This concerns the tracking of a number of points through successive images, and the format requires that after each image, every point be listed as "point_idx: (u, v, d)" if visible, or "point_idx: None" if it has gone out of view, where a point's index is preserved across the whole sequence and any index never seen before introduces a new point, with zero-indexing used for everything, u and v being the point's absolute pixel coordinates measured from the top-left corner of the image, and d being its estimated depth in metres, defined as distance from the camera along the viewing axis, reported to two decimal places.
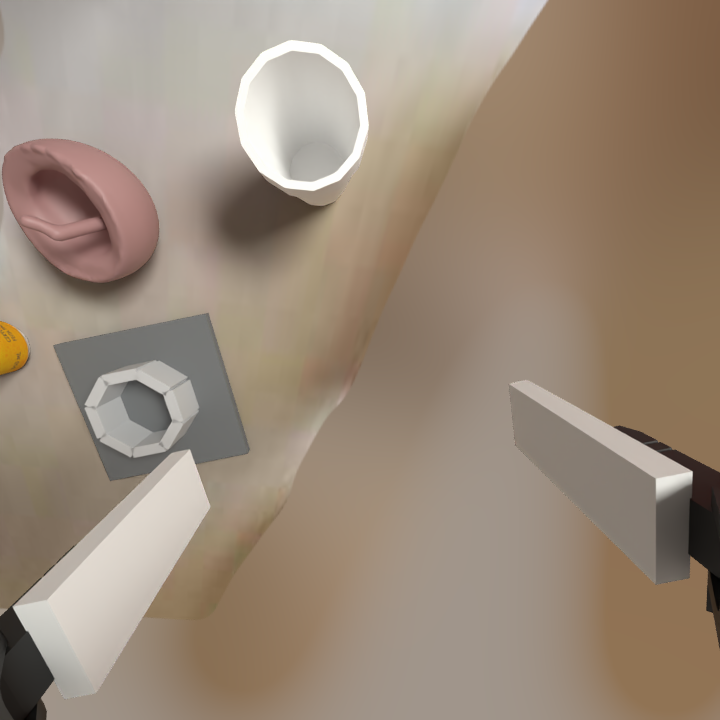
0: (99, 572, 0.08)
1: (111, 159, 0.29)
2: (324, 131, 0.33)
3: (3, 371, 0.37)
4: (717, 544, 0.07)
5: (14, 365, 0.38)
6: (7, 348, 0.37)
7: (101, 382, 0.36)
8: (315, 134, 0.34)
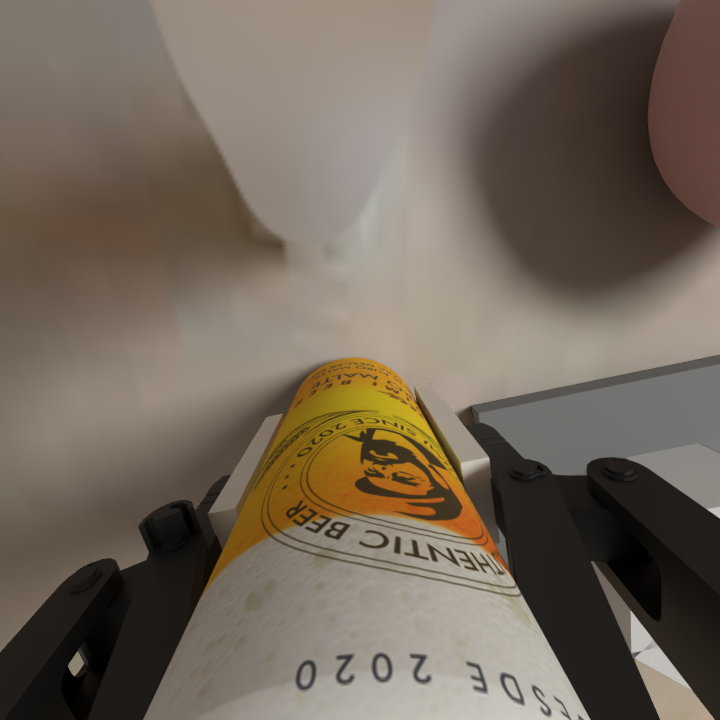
0: None
1: None
2: None
3: None
4: None
5: None
6: None
7: None
8: None
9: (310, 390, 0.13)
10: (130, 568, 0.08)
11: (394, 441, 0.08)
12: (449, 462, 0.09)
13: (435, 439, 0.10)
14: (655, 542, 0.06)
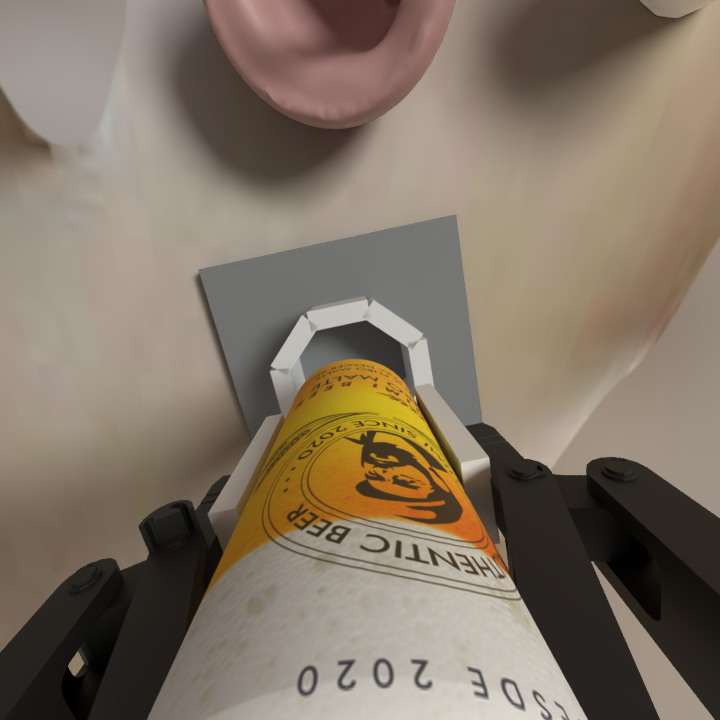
0: None
1: None
2: None
3: None
4: None
5: None
6: None
7: (305, 325, 0.20)
8: None
9: (310, 392, 0.13)
10: (130, 568, 0.08)
11: (394, 444, 0.08)
12: (449, 464, 0.09)
13: (435, 441, 0.10)
14: (655, 542, 0.06)
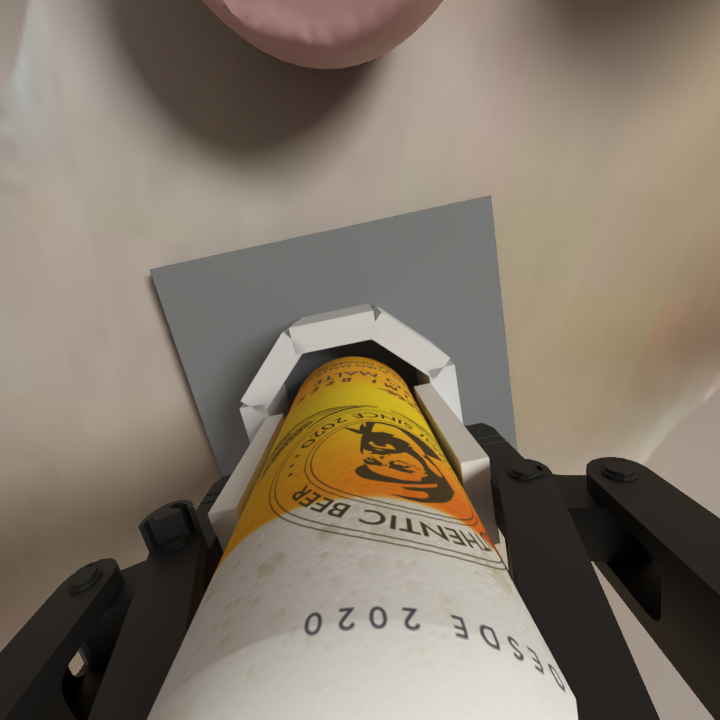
0: None
1: None
2: None
3: None
4: None
5: None
6: None
7: (287, 346, 0.15)
8: None
9: (312, 387, 0.13)
10: (130, 568, 0.08)
11: (391, 433, 0.08)
12: (444, 455, 0.10)
13: (431, 433, 0.11)
14: (655, 542, 0.06)
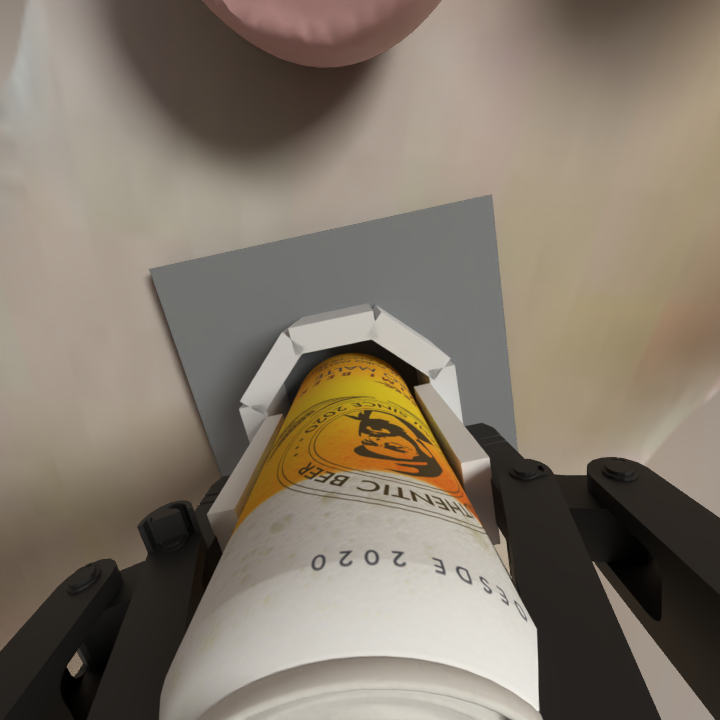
0: None
1: None
2: None
3: None
4: None
5: None
6: None
7: (286, 346, 0.15)
8: None
9: (314, 381, 0.14)
10: (129, 568, 0.08)
11: (387, 420, 0.09)
12: None
13: (425, 423, 0.11)
14: (655, 542, 0.06)
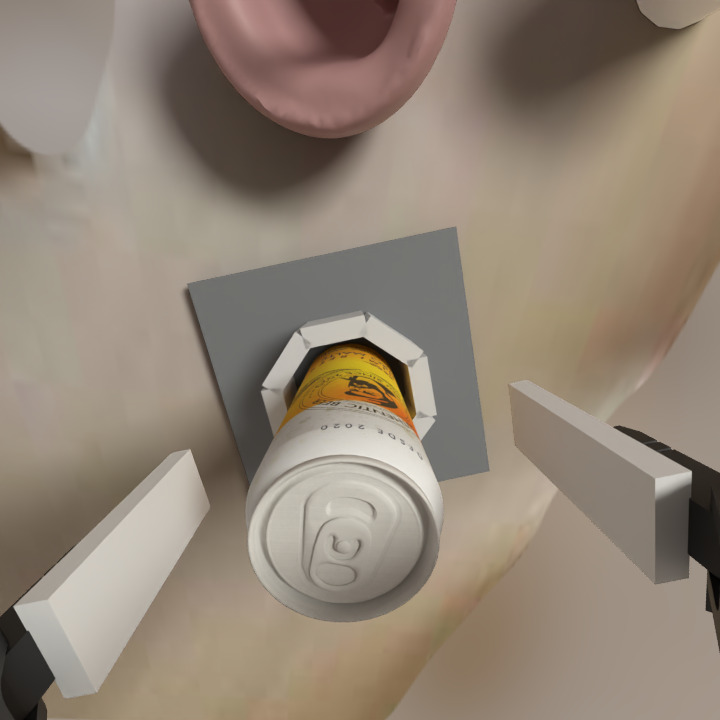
0: (100, 571, 0.08)
1: None
2: None
3: None
4: (716, 544, 0.07)
5: None
6: None
7: (298, 342, 0.19)
8: None
9: (320, 362, 0.19)
10: None
11: (367, 381, 0.14)
12: (402, 400, 0.16)
13: (396, 389, 0.17)
14: None
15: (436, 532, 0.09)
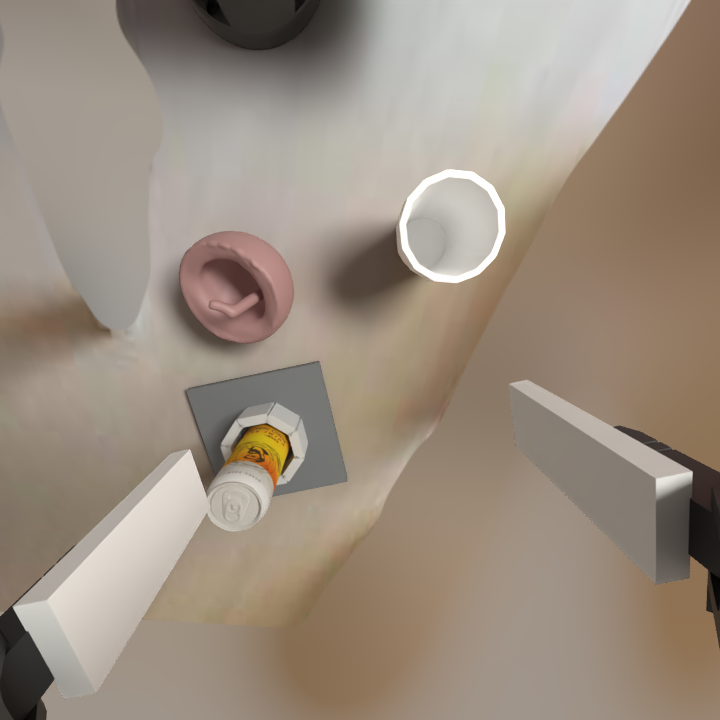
0: (100, 571, 0.08)
1: (269, 246, 0.35)
2: (435, 213, 0.39)
3: None
4: (717, 544, 0.07)
5: None
6: (287, 446, 0.43)
7: (236, 425, 0.42)
8: (426, 214, 0.39)
9: (247, 433, 0.42)
10: None
11: (257, 449, 0.37)
12: (275, 454, 0.39)
13: (275, 448, 0.39)
14: None
15: (260, 503, 0.32)
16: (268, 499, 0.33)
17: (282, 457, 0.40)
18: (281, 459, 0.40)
